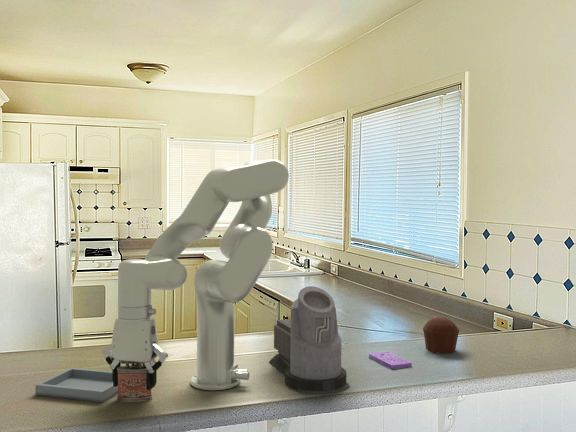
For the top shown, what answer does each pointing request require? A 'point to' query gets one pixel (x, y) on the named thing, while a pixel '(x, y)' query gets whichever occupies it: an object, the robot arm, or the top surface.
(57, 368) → the top surface
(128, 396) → the lighter
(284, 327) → the juicer
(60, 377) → the tray
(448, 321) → the muffin
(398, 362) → the sponges
